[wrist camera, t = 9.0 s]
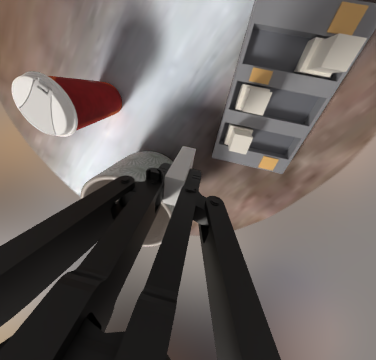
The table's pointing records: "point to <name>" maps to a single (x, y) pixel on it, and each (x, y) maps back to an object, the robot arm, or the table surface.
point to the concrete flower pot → (137, 169)
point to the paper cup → (63, 102)
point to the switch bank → (287, 75)
